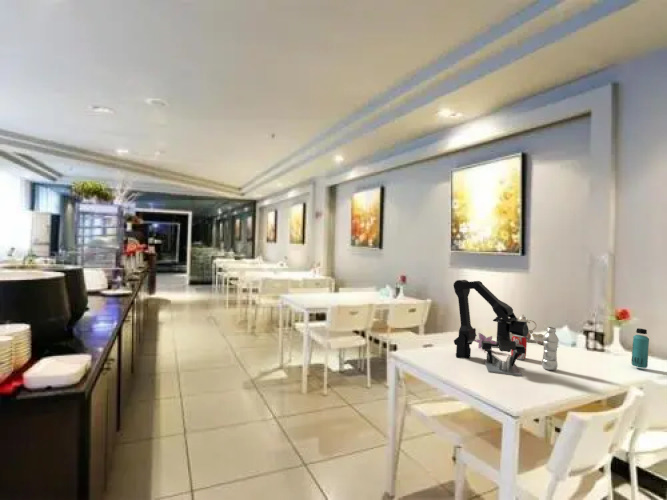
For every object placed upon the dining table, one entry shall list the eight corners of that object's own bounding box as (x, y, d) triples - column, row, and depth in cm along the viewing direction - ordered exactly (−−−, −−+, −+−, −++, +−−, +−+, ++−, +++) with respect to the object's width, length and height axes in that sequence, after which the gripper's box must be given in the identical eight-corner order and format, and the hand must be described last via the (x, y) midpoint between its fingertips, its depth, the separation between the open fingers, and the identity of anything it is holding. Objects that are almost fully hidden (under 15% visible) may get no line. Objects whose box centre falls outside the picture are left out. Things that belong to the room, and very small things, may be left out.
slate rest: (488, 372, 174) (488, 361, 174) (483, 360, 192) (484, 350, 191) (521, 376, 171) (522, 365, 170) (514, 364, 188) (514, 354, 188)
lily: (501, 355, 206) (500, 338, 211) (489, 349, 200) (489, 331, 205) (481, 356, 215) (480, 340, 219) (469, 351, 209) (469, 334, 213)
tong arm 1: (496, 369, 176) (497, 360, 176) (486, 360, 189) (486, 352, 189) (501, 369, 176) (502, 360, 176) (491, 360, 189) (491, 352, 189)
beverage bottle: (644, 367, 191) (646, 328, 191) (650, 371, 185) (652, 330, 184) (628, 365, 193) (631, 326, 193) (634, 369, 187) (636, 329, 187)
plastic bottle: (551, 372, 177) (554, 329, 177) (538, 368, 183) (540, 326, 183) (560, 371, 180) (562, 328, 180) (546, 366, 186) (548, 325, 186)
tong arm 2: (505, 369, 176) (505, 361, 176) (508, 362, 187) (508, 354, 187) (510, 370, 175) (511, 362, 175) (513, 363, 186) (513, 355, 186)
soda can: (527, 361, 194) (528, 337, 194) (512, 359, 196) (513, 336, 195) (523, 357, 201) (524, 334, 201) (509, 355, 202) (510, 333, 202)
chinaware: (501, 345, 231) (504, 318, 229) (495, 335, 247) (497, 310, 245) (551, 349, 227) (554, 321, 224) (541, 339, 243) (543, 313, 241)
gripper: (484, 333, 175) (482, 367, 176) (529, 338, 170) (527, 373, 171) (481, 328, 186) (480, 360, 187) (523, 332, 181) (521, 365, 182)
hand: (501, 364), depth 181 cm, fingers open, 9 cm apart
